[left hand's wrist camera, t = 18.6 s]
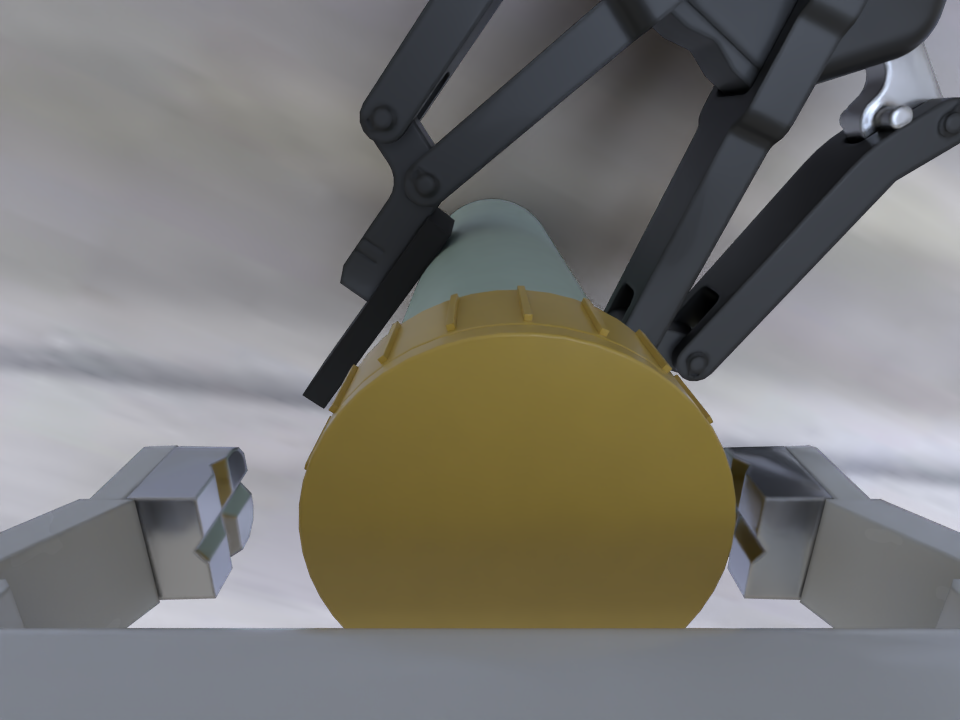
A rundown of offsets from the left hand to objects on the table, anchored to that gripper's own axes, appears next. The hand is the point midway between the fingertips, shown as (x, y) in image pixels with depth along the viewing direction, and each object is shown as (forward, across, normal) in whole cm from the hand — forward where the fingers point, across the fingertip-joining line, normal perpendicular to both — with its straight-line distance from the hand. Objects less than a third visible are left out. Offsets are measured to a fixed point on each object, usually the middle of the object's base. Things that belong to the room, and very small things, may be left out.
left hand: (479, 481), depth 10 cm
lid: (-2, 0, 0) cm, 2 cm away
